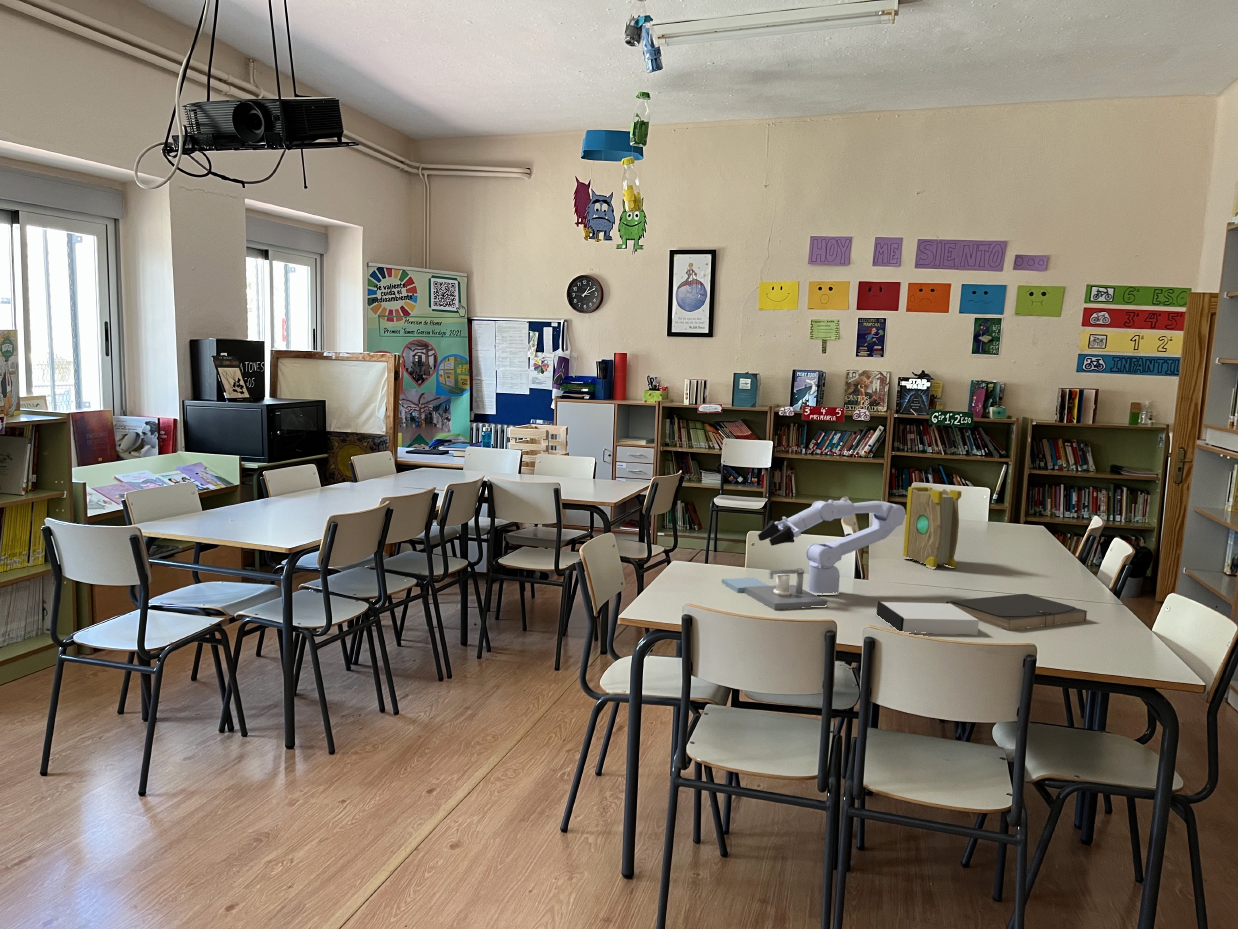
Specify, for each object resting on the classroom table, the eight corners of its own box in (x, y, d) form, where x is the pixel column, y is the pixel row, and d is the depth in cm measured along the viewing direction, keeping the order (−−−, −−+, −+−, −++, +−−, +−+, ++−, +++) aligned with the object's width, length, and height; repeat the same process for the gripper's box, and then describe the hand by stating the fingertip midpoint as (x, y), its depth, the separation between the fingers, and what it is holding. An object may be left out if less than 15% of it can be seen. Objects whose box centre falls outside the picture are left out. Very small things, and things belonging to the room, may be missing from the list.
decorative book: (900, 558, 335) (906, 484, 332) (923, 558, 338) (929, 484, 335) (933, 570, 316) (940, 491, 313) (957, 569, 319) (964, 491, 316)
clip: (801, 576, 266) (801, 568, 266) (805, 578, 264) (805, 569, 264) (767, 577, 262) (768, 569, 262) (771, 579, 260) (771, 571, 260)
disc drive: (875, 617, 250) (877, 600, 250) (948, 618, 252) (950, 602, 251) (899, 635, 233) (901, 617, 232) (977, 636, 234) (979, 619, 234)
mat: (753, 582, 286) (753, 577, 286) (770, 590, 274) (770, 586, 274) (721, 583, 282) (721, 578, 282) (737, 592, 271) (737, 587, 271)
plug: (785, 597, 267) (786, 572, 266) (793, 601, 262) (795, 576, 261) (769, 598, 265) (771, 573, 264) (778, 602, 260) (779, 577, 259)
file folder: (1010, 618, 239) (945, 598, 261) (1009, 633, 239) (944, 611, 261) (1088, 609, 253) (1021, 591, 275) (1087, 623, 253) (1020, 603, 275)
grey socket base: (793, 590, 276) (795, 565, 275) (826, 607, 257) (828, 580, 256) (744, 592, 270) (745, 567, 270) (774, 610, 251) (776, 582, 251)
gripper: (785, 507, 275) (750, 524, 272) (808, 514, 262) (771, 533, 258) (791, 526, 277) (757, 544, 274) (815, 535, 263) (778, 553, 260)
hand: (764, 540), depth 266 cm, fingers open, 7 cm apart
